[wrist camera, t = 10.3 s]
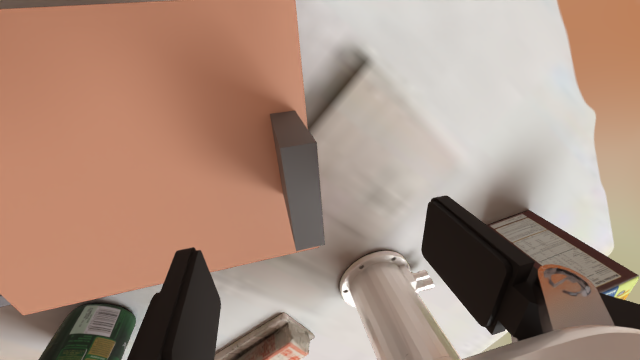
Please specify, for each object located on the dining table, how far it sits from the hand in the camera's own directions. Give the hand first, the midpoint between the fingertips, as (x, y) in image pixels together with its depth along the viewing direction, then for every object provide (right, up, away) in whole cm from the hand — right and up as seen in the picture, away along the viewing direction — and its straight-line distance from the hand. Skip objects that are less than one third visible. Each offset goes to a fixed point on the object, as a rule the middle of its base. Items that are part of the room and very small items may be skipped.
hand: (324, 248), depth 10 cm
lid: (-12, +3, +6) cm, 14 cm away
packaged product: (-11, -27, +36) cm, 47 cm away
